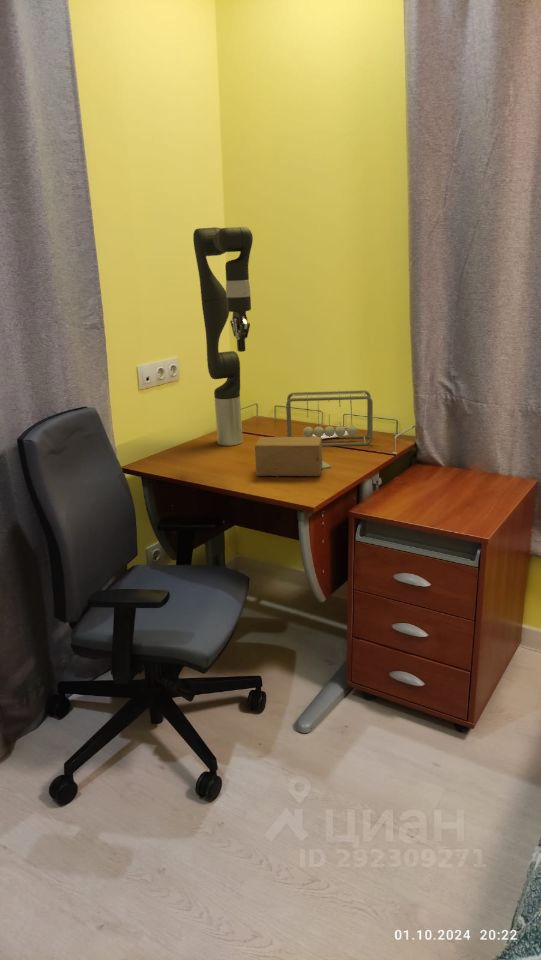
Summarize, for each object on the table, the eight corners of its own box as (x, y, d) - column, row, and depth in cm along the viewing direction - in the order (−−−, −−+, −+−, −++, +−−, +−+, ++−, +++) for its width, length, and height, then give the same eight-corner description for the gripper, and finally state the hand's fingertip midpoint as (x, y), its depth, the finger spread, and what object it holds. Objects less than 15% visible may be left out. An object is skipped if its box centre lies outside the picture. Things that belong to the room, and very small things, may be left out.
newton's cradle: (370, 437, 260) (370, 389, 255) (372, 445, 250) (372, 396, 245) (288, 439, 262) (287, 392, 257) (287, 447, 253) (285, 398, 247)
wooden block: (256, 476, 222) (320, 476, 219) (254, 445, 218) (319, 445, 215) (261, 466, 231) (322, 466, 228) (259, 436, 228) (321, 436, 225)
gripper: (256, 295, 216) (259, 352, 221) (243, 293, 228) (246, 347, 233) (233, 297, 213) (236, 355, 219) (220, 295, 225) (224, 349, 231)
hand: (241, 351), depth 226 cm, fingers closed
